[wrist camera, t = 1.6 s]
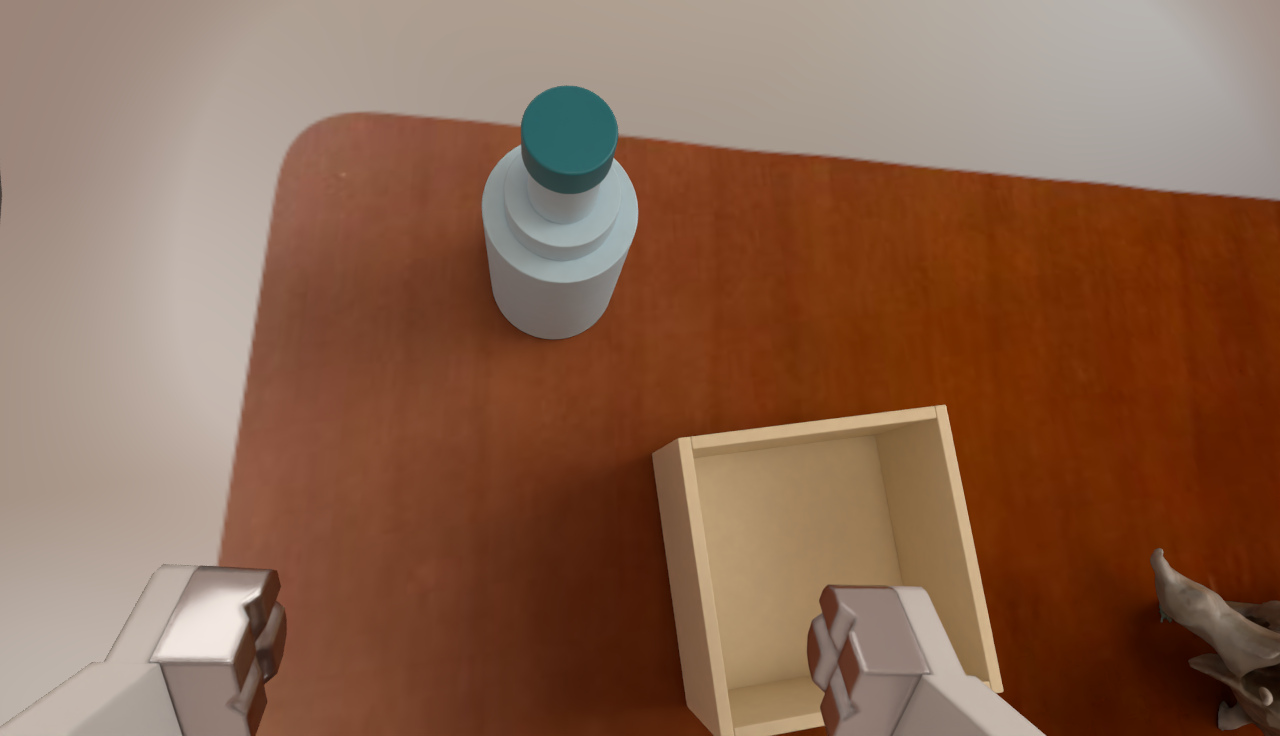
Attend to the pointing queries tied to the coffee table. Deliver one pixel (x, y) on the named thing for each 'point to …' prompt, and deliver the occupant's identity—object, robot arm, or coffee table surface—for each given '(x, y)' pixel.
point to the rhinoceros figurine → (1229, 645)
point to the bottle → (559, 216)
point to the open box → (808, 553)
